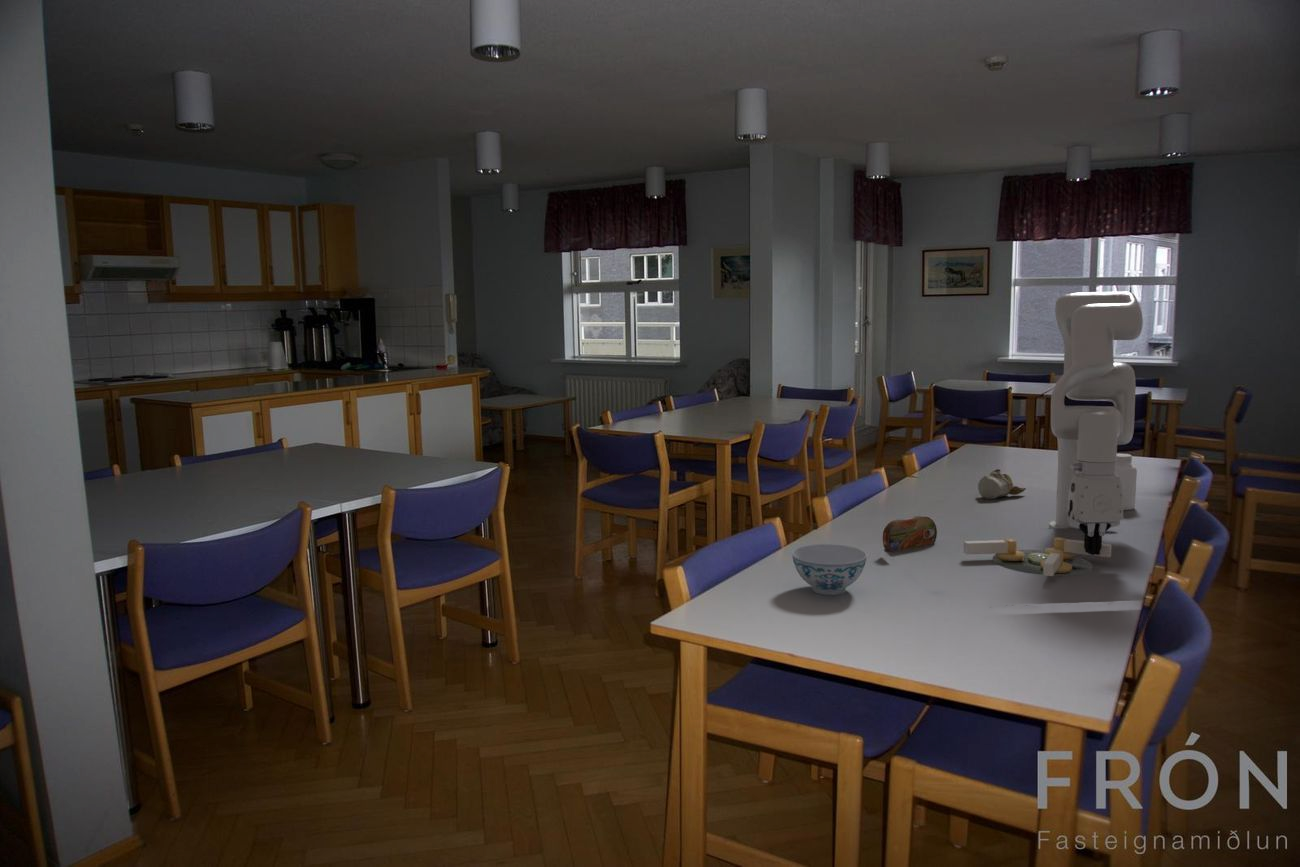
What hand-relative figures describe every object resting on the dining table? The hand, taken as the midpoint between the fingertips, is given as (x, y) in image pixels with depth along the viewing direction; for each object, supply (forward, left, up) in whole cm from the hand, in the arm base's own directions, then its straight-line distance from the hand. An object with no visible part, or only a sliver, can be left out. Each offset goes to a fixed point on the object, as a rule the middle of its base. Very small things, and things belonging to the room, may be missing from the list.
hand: (1092, 552), depth 192 cm
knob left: (+19, -6, -2) cm, 20 cm away
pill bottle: (-39, -58, -4) cm, 70 cm away
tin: (+33, -19, -4) cm, 39 cm away
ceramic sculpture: (-12, -77, -4) cm, 78 cm away
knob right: (+1, -4, -2) cm, 5 cm away
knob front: (+11, +6, -2) cm, 13 cm away
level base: (+9, -3, -4) cm, 11 cm away
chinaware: (+58, +7, -4) cm, 59 cm away
